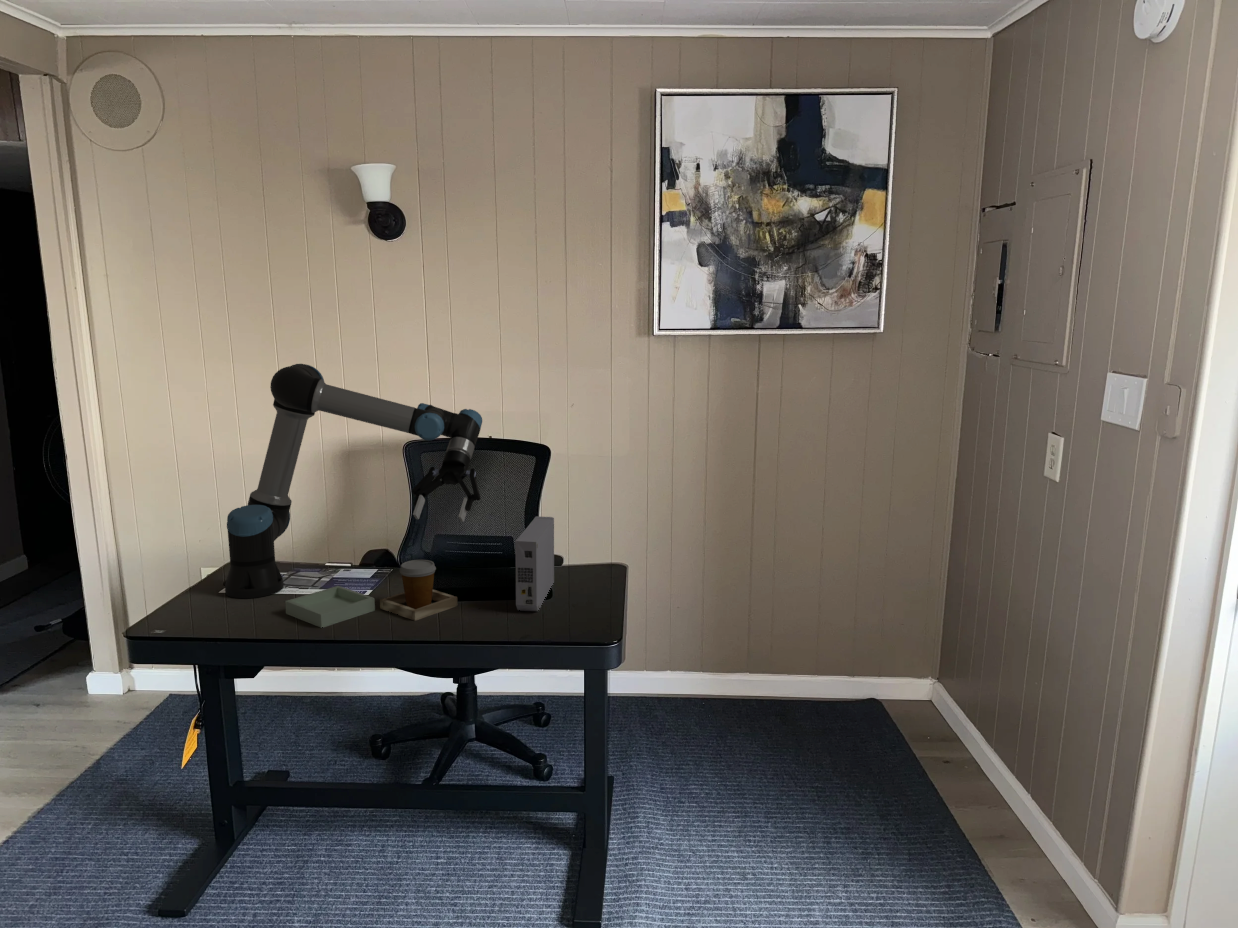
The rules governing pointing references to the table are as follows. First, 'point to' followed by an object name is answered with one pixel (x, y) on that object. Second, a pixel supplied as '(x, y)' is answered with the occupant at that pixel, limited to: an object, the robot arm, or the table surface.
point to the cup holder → (395, 607)
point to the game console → (534, 563)
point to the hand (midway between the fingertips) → (438, 518)
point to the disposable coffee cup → (418, 582)
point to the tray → (330, 606)
